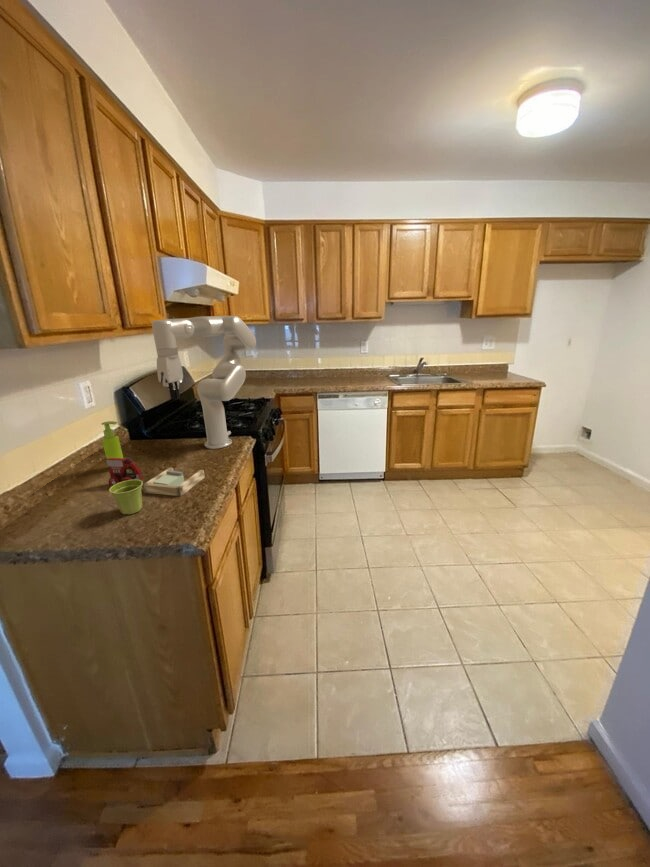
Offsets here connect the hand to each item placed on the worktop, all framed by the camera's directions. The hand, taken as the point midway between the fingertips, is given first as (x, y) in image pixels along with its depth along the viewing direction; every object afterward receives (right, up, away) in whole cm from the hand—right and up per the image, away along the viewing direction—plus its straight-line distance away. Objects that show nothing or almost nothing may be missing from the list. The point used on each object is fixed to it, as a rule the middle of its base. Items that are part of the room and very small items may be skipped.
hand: (175, 398), depth 143 cm
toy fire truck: (-13, -33, -11) cm, 38 cm away
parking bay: (+6, -33, -13) cm, 36 cm away
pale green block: (+4, -34, -14) cm, 37 cm away
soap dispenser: (-25, -29, +3) cm, 38 cm away
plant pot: (-2, -39, -29) cm, 49 cm away
